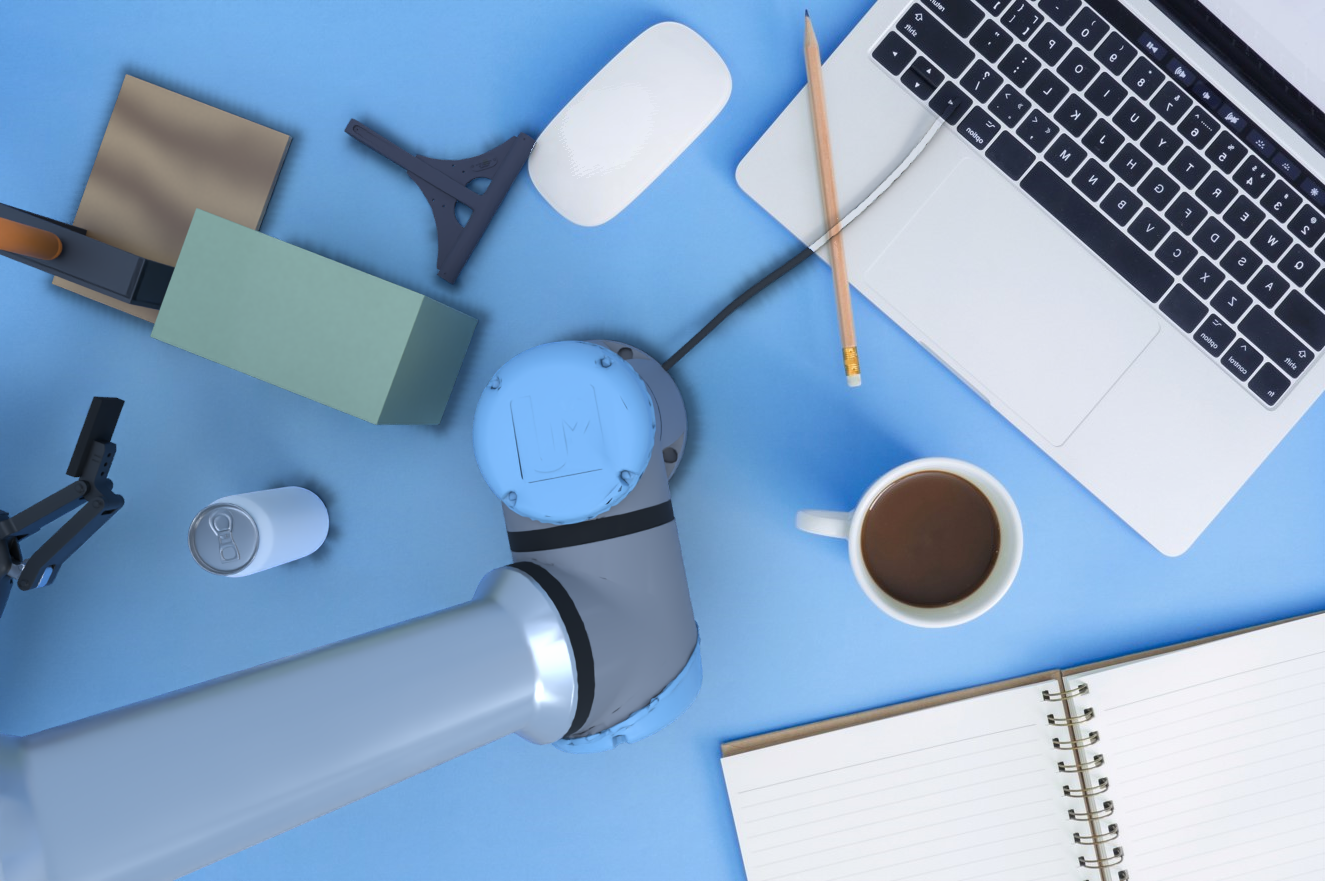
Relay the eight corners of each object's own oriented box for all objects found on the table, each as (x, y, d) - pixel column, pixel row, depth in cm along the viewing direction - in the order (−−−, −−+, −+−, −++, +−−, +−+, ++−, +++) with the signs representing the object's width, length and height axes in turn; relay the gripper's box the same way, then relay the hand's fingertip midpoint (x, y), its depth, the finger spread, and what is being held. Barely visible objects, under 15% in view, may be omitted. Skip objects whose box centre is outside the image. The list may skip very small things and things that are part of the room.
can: (321, 478, 79) (252, 488, 67) (339, 548, 79) (273, 570, 67) (253, 495, 79) (172, 508, 67) (270, 564, 79) (193, 590, 67)
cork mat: (130, 76, 79) (125, 73, 79) (292, 137, 79) (289, 135, 78) (56, 284, 80) (51, 283, 79) (216, 347, 79) (212, 346, 79)
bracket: (395, 60, 78) (384, 46, 75) (538, 144, 77) (531, 134, 75) (315, 201, 79) (300, 193, 76) (456, 286, 78) (446, 281, 75)
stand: (293, 248, 79) (196, 207, 64) (478, 319, 78) (424, 295, 63) (254, 353, 79) (149, 336, 64) (439, 424, 78) (376, 425, 63)
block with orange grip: (81, 227, 79) (-119, 165, 60) (223, 282, 78) (68, 236, 59) (67, 266, 79) (-136, 216, 60) (209, 320, 79) (49, 287, 59)
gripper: (-151, 551, 75) (-69, 318, 74) (115, 659, 74) (201, 424, 73) (-246, 565, 67) (-155, 306, 67) (49, 685, 67) (145, 424, 66)
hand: (32, 367), depth 70 cm, fingers open, 13 cm apart
